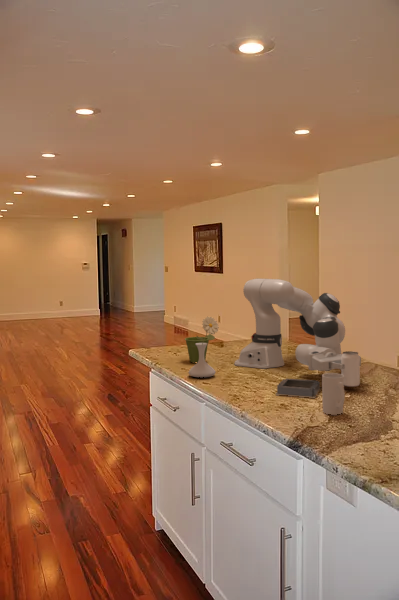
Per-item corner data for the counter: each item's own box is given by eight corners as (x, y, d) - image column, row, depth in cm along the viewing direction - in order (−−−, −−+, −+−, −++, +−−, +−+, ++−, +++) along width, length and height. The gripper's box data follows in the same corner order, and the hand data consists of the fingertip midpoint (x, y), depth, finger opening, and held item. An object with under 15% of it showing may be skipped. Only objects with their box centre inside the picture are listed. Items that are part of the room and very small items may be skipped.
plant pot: (214, 363, 251) (213, 339, 250) (190, 365, 247) (189, 341, 246) (204, 358, 262) (204, 335, 261) (181, 361, 258) (181, 337, 257)
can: (361, 386, 196) (361, 354, 196) (343, 387, 197) (343, 354, 196) (356, 382, 203) (356, 350, 202) (339, 382, 203) (339, 351, 202)
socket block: (275, 395, 194) (275, 386, 194) (283, 385, 207) (283, 378, 207) (314, 398, 189) (314, 389, 189) (321, 388, 202) (321, 380, 202)
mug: (318, 410, 175) (318, 373, 174) (336, 408, 177) (337, 372, 176) (333, 419, 166) (333, 381, 165) (353, 417, 167) (353, 379, 166)
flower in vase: (192, 380, 218) (191, 319, 216) (185, 374, 229) (184, 316, 227) (223, 378, 222) (222, 317, 220) (214, 372, 233) (214, 314, 231)
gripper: (345, 364, 216) (371, 370, 204) (305, 370, 207) (330, 377, 194) (346, 348, 216) (372, 354, 203) (305, 353, 206) (330, 360, 194)
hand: (351, 365), depth 199 cm, fingers closed on can, 6 cm apart
